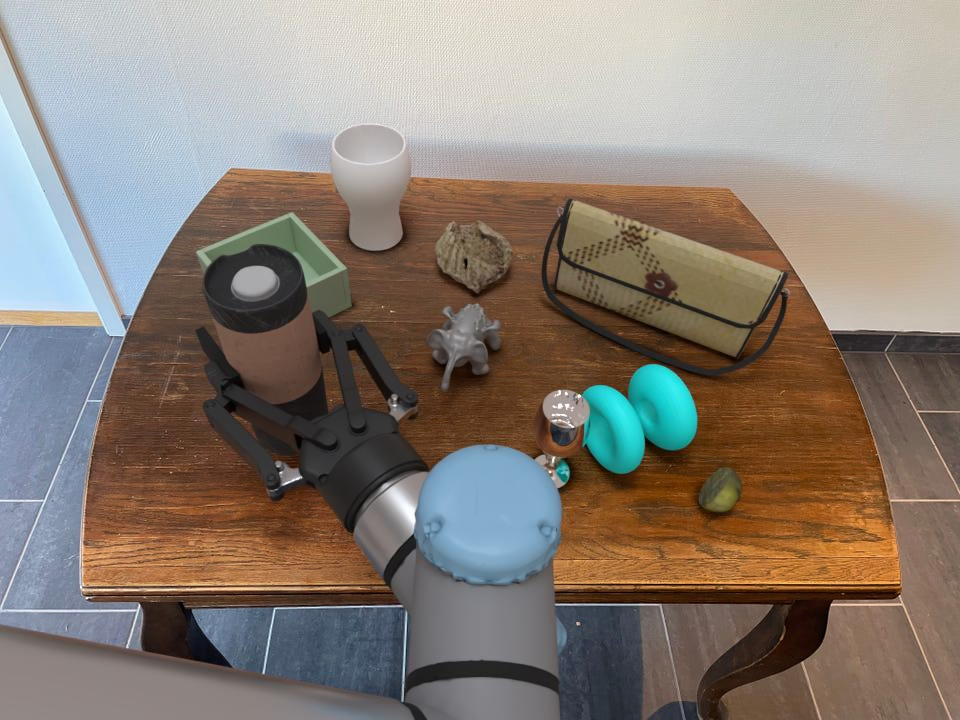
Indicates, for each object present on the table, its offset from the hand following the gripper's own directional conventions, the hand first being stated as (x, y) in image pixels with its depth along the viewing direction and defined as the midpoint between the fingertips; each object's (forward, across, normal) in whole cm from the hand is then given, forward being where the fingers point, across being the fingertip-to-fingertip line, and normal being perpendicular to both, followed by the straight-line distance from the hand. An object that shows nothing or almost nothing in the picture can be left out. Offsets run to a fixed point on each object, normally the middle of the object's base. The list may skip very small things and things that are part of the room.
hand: (246, 318), depth 61 cm
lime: (-34, +34, -20) cm, 52 cm away
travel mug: (-5, 0, -11) cm, 12 cm away
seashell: (+10, +35, -21) cm, 42 cm away
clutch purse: (-13, +45, -20) cm, 51 cm away
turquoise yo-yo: (-23, +31, -20) cm, 44 cm away
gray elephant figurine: (-4, +23, -20) cm, 31 cm away
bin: (+20, +11, -20) cm, 31 cm away
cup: (+24, +28, -21) cm, 42 cm away
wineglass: (-21, +22, -20) cm, 36 cm away
